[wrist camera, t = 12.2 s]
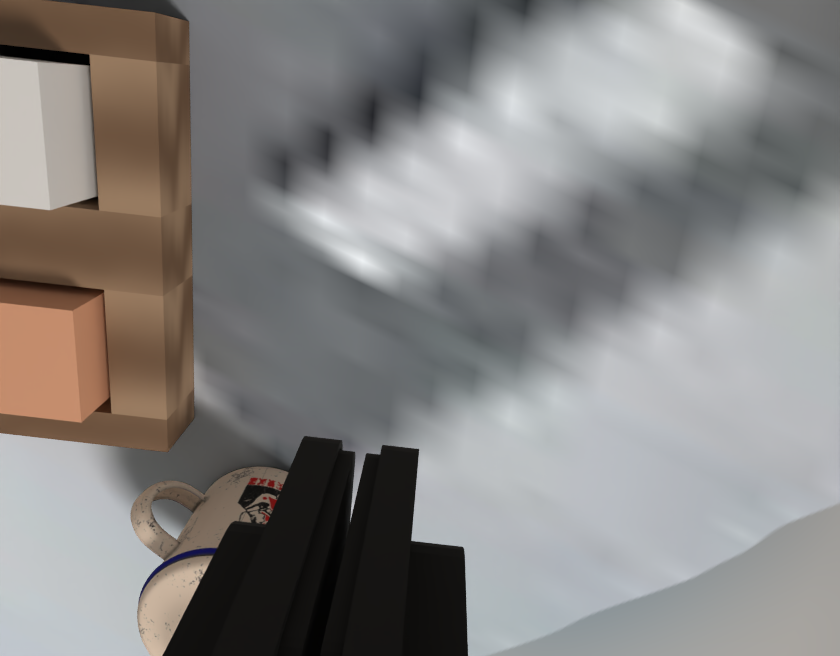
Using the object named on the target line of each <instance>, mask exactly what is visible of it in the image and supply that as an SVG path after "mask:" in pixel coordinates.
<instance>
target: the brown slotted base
mask: <svg viewBox="0 0 840 656" xmlns="http://www.w3.org/2000/svg"><path fill="white" fill-rule="evenodd" d="M0 44H2V45H11V46H20V47H29V48H38V49H47V50H56V51H65V52H74V53H83V54H90V70H91V86H92V102H93V119H94V135H95V151H96V168H97V184H98V196H96V197H93V198H90V199H86V200H83V201H80V202H76V203H73V204H69V205H66V206H63V207H59V208H56V209H53V210H44V209H35V208H26V207H17V206H8V205H0V278H6V279H15V280H24V281H32V282H41V283H50V284H59V285H68V286H76V287H85V288H94V289H103V290H104V298H105V314H106V331H107V347H108V363H109V380H110V397H109V398H108V399H107V400H106V401H105V402H104V403H103V404H102V405H100V406H99V407H98V408H97V409H96V410H95V411H94V412H93V413H92V414H90V415H89V416H88V417H87V418H86V419H85V420H84V421H83V422H82V423H80V422H72V421H63V420H54V419H46V418H37V417H28V416H19V415H11V414H2V413H0V433H5V434H13V435H22V436H31V437H39V438H48V439H57V440H66V441H74V442H83V443H92V444H101V445H109V446H118V447H127V448H135V449H144V450H153V451H162V452H168V451H169V450H170V449H171V447H172V446H173V445H174V444H175V442H176V441H177V440H178V438H179V437H180V436H181V435H182V433H183V432H184V431H185V429H186V428H187V427H188V426H189V424H190V423H191V422H192V421H193V419H194V359H193V284H192V210H191V135H190V60H189V21H185V20H181V19H177V18H174V17H170V16H166V15H162V14H159V13H155V12H146V11H137V10H128V9H119V8H110V7H101V6H92V5H83V4H74V3H65V2H56V1H47V0H0Z"/></svg>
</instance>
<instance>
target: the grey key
mask: <svg viewBox="0 0 840 656" xmlns="http://www.w3.org/2000/svg"><path fill="white" fill-rule="evenodd" d="M96 196H98V184H97V168H96V151H95V135H94V119H93V102H92V86H91V70H90V65H82V64H73V63H64V62H55V61H47V60H38V59H29V58H20V57H11V56H2V55H0V205H8V206H17V207H26V208H35V209H44V210H53V209H56V208H59V207H63V206H66V205H69V204H73V203H76V202H80V201H83V200H86V199H90V198H93V197H96Z"/></svg>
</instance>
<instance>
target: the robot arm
mask: <svg viewBox="0 0 840 656" xmlns="http://www.w3.org/2000/svg"><path fill="white" fill-rule="evenodd" d="M418 455H419V449H413V448H404V447H396V446H387V445H382V449H381V454H380V455H378V454H369V453H367V454H366V457H365V461H364V465H363V470H362V474H361V478H360V483H359V487H358V491H357V496H356V500H355V504H354V509H353V513H352V518H351V522H350V516H351V504H352V491H353V479H354V467H355V452H352V451H343V450H342V440H334V439H326V438H317V437H308V436H304V438H303V439H302V442H301V444H300V446H299V449H298V451H297V453H296V456H295V458H294V461H293V463H292V465H291V468H290V470H289V472H288V475H287V477H286V479H285V482H284V484H283V487H282V489H281V491H280V494H279V496H278V498H277V501H276V503H275V506H274V508H273V510H272V513H271V515H270V517H269V520H268V522H267V524H259V523H250V522H241V521H234V522H232V523H231V524H230V525H229V527H228V528H227V530H226V532H225V534H224V536H223V538H222V540H221V541H220V543H219V545H218V547H217V549H216V551H215V553H214V555H213V557H212V559H211V561H210V563H209V565H208V567H207V569H206V571H205V573H204V575H203V577H202V579H201V581H200V583H199V585H198V587H197V589H196V591H195V593H194V595H193V596H192V598H191V600H190V602H189V604H188V606H187V608H186V610H185V612H184V614H183V616H182V618H181V620H180V622H179V624H178V626H177V628H176V630H175V632H174V634H173V636H172V638H171V640H170V642H169V644H168V646H167V648H166V650H165V651H164V653H163V655H162V656H468V644H467V613H466V581H465V555H464V548H463V547H458V546H450V545H441V544H432V543H424V542H415V541H411V536H412V525H413V513H414V502H415V490H416V478H417V467H418Z"/></svg>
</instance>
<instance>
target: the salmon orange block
mask: <svg viewBox="0 0 840 656" xmlns="http://www.w3.org/2000/svg"><path fill="white" fill-rule="evenodd" d="M109 397H110V380H109V363H108V347H107V331H106V314H105V298H104V290H103V289H94V288H85V287H76V286H68V285H59V284H50V283H41V282H32V281H24V280H15V279H6V278H0V413H2V414H11V415H19V416H28V417H37V418H46V419H54V420H63V421H72V422H80V423H82V422H83V421H84V420H85V419H86V418H87V417H88V416H89V415H90V414H92V413H93V412H94V411H95V410H96V409H97V408H98V407H99V406H100V405H102V404H103V403H104V402H105V401H106V400H107V399H108V398H109Z"/></svg>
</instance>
